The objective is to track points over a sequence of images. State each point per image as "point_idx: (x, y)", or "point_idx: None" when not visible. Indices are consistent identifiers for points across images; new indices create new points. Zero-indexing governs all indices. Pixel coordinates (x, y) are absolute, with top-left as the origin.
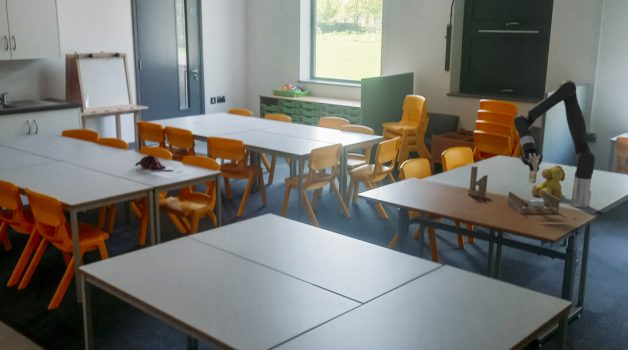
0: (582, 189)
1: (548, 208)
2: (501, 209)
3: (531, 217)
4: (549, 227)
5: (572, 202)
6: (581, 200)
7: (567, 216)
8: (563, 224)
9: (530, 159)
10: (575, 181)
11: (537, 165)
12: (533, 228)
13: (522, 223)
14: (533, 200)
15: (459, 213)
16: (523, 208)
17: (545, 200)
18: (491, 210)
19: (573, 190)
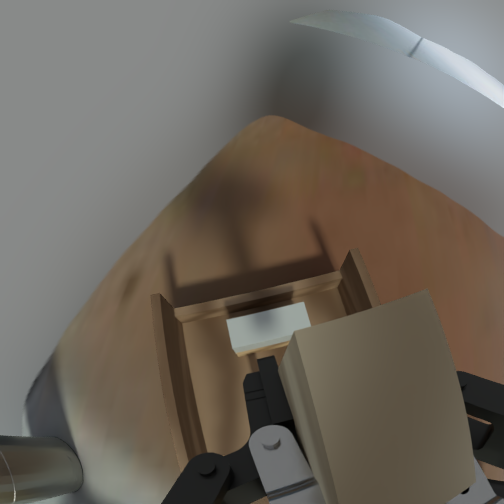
0: (9, 440)
1: (215, 300)
2: None
3: (296, 266)
4: (253, 173)
5: (74, 469)
6: (42, 440)
7: (142, 313)
8: (196, 210)
9: None
10: (7, 475)
11: (280, 365)
12: (303, 158)
13: (334, 192)
14: (286, 324)
15: (499, 253)
16: (335, 272)
17: (195, 434)
18: None
19: (42, 480)
